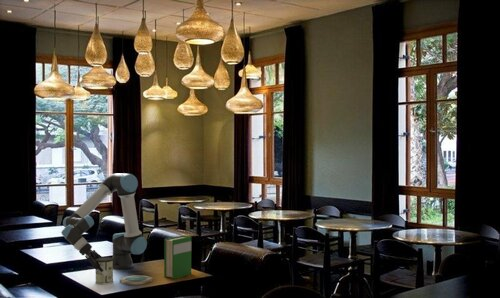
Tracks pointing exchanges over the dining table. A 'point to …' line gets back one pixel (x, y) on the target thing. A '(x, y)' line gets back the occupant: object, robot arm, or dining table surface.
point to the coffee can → (108, 266)
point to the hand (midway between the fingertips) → (109, 273)
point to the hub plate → (136, 280)
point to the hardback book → (177, 256)
